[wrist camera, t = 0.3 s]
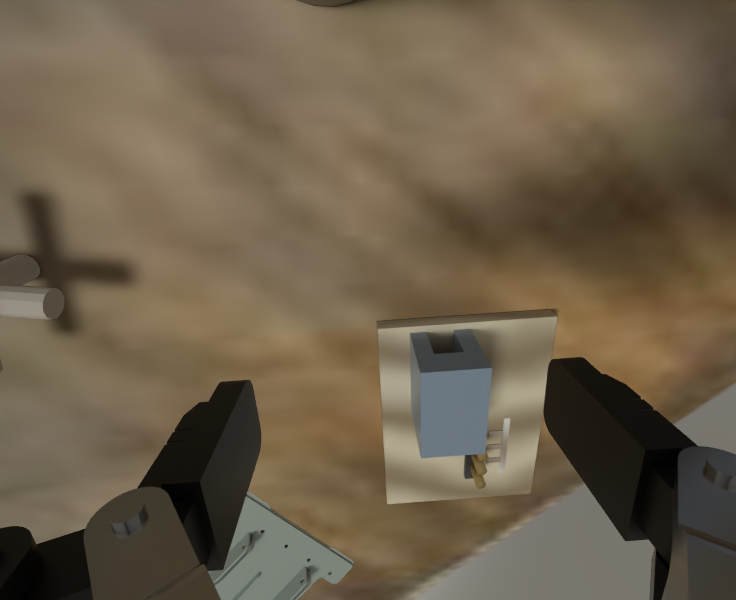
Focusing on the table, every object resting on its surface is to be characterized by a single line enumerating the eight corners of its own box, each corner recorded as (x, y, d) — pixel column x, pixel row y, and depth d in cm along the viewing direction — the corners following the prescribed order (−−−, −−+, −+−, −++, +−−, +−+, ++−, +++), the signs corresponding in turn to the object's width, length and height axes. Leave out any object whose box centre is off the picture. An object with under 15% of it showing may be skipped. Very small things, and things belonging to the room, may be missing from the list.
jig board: (376, 321, 30) (379, 347, 27) (550, 309, 30) (575, 333, 27) (386, 492, 38) (389, 529, 34) (525, 482, 38) (542, 518, 34)
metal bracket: (264, 675, 40) (133, 614, 35) (264, 618, 45) (150, 558, 40) (366, 570, 40) (250, 494, 35) (354, 525, 45) (251, 454, 40)
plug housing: (409, 332, 29) (420, 373, 25) (470, 328, 29) (492, 368, 25) (411, 409, 32) (420, 458, 28) (466, 405, 32) (485, 453, 28)
